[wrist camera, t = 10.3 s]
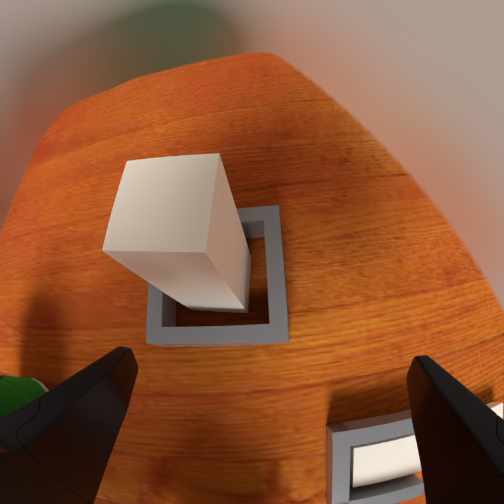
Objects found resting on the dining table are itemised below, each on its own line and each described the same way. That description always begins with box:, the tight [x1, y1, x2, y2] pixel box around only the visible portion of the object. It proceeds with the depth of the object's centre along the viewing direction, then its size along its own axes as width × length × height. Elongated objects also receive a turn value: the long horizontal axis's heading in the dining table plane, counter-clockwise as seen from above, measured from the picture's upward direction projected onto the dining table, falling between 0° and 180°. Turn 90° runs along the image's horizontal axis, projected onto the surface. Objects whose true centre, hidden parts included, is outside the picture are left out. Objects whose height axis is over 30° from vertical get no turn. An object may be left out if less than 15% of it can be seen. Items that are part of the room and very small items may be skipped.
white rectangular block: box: [102, 153, 251, 313], centre depth 18 cm, size 4×4×13 cm
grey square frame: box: [146, 205, 289, 347], centre depth 22 cm, size 10×10×3 cm
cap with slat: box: [326, 402, 503, 504], centre depth 16 cm, size 7×16×3 cm, turn 92°
